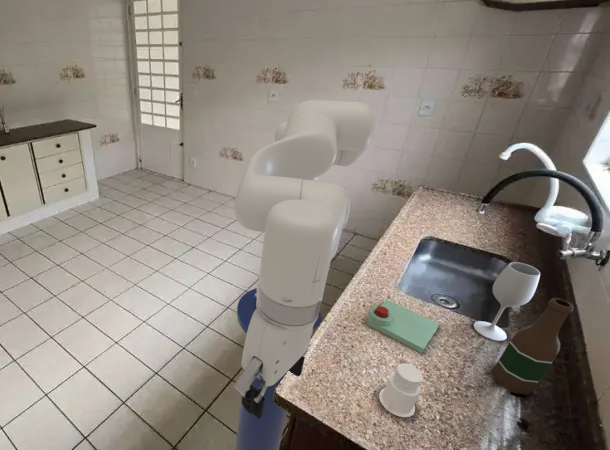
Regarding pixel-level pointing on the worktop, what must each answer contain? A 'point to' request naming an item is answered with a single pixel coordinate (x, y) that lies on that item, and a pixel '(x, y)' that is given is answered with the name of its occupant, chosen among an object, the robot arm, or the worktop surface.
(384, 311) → the button
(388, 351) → the worktop surface
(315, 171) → the robot arm
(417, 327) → the scale
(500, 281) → the wineglass
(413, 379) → the downlight
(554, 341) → the beer bottle
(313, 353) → the worktop surface
